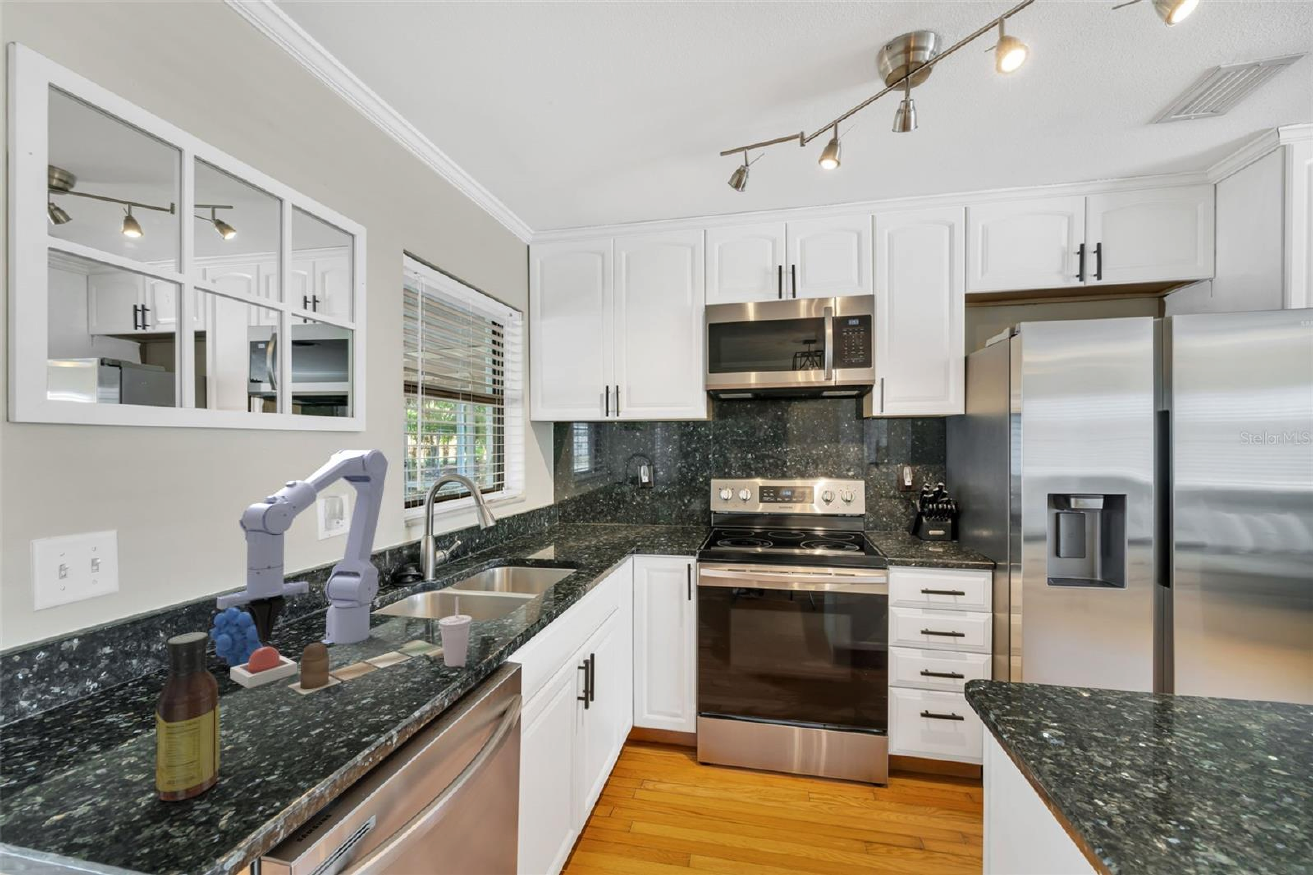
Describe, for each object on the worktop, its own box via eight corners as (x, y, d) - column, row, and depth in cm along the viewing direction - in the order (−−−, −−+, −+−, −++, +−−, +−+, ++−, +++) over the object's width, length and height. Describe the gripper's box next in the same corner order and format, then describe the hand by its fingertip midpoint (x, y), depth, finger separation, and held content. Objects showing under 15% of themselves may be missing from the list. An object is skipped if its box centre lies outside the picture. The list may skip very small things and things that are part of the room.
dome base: (230, 683, 102) (230, 667, 102) (278, 669, 109) (278, 654, 109) (248, 694, 98) (248, 677, 98) (297, 678, 105) (297, 662, 105)
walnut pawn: (295, 685, 99) (296, 644, 99) (321, 677, 103) (321, 637, 103) (307, 691, 97) (308, 649, 97) (333, 682, 101) (333, 642, 101)
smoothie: (477, 662, 113) (477, 594, 113) (463, 675, 106) (463, 602, 107) (447, 661, 113) (448, 593, 114) (432, 673, 107) (432, 602, 107)
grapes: (190, 673, 107) (192, 612, 107) (224, 660, 114) (225, 602, 114) (240, 678, 105) (241, 615, 105) (271, 664, 112) (272, 605, 112)
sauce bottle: (181, 776, 73) (184, 628, 74) (230, 774, 74) (233, 626, 74) (139, 808, 67) (143, 645, 67) (194, 805, 67) (196, 643, 68)
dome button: (243, 674, 103) (244, 648, 103) (272, 665, 107) (273, 641, 107) (254, 680, 100) (255, 653, 100) (284, 671, 104) (284, 646, 104)
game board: (278, 688, 100) (278, 683, 100) (417, 643, 124) (417, 638, 124) (309, 705, 94) (309, 699, 94) (450, 654, 117) (450, 649, 117)
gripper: (228, 576, 96) (226, 654, 95) (316, 562, 108) (315, 631, 108) (212, 571, 100) (211, 646, 99) (299, 558, 112) (298, 625, 111)
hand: (264, 638), depth 104 cm, fingers closed
